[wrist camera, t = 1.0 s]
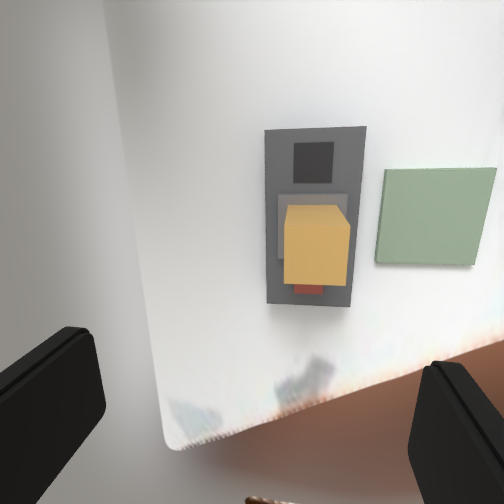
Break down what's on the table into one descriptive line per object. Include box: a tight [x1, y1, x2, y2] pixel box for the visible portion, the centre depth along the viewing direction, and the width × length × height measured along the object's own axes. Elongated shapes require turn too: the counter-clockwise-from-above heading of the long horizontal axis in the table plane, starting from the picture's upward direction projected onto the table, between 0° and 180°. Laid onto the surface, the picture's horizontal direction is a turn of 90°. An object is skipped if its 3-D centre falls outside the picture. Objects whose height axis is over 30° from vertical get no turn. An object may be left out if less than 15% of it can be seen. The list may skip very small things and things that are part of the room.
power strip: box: [265, 126, 367, 307], centre depth 31 cm, size 18×9×5 cm, turn 1°
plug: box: [278, 193, 350, 286], centre depth 28 cm, size 6×6×13 cm
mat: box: [375, 168, 497, 265], centre depth 31 cm, size 10×10×1 cm
